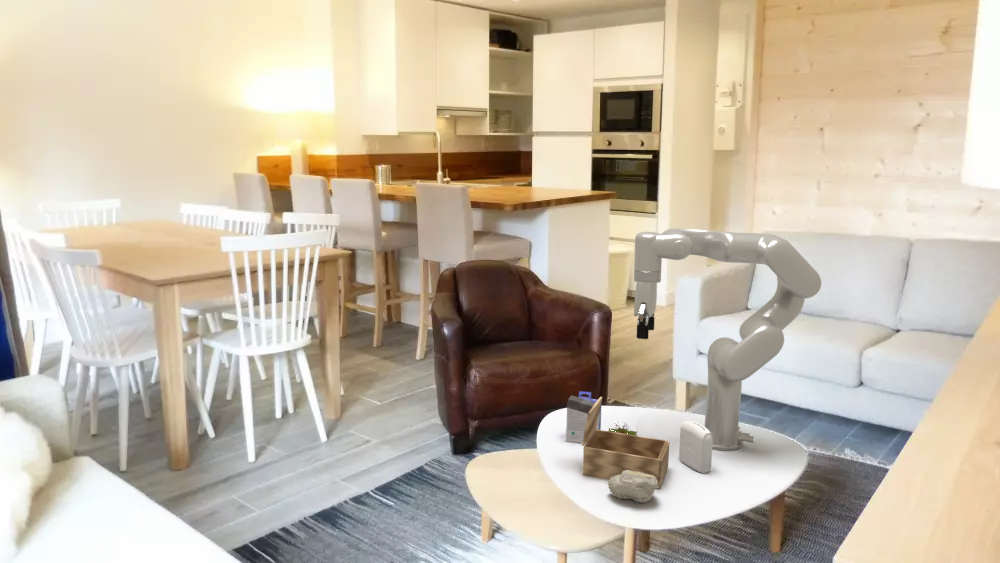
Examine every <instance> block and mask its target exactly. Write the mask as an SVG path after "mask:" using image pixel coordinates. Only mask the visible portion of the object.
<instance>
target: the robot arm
mask: <svg viewBox="0 0 1000 563" xmlns="http://www.w3.org/2000/svg"><path fill="white" fill-rule="evenodd" d="M689 256H699V257H705V258H709V259H712V260H714V261H717V262H722V263H733V264H735V263H736V264H737V263H738V264H739V263H740V264H755V265H756V264H757V265H765V266H767V267H769V269H770V270H771V271H772V272H773V274H775V275H776V281H777V283H776V284H777V285H776V290H775V293H773V294H774V295H773V296H772V297H771V298H770V300H769V301H767V302H766V303H765V304H764V305H763V306H762V307H760V308H759V309H758V310H756V311H755V312H754V313H752V314H751V315H750V316H749V317H748V318H747V319H745V320H744V321H743V322H742V323H741V325H740V327H739V336H740V338H741V341H739V342H738V341H736V340H735V339H733V338H730V337H719V338H717V339H715V340H714V341H713V342H712V343H710V346H709V347H708V349H707V386H706V387H707V388H706V400H705V402H706V404H705V414H704V415H705V416H704V427H706V428H707V429H708V430H709V431H710V432H711V433H712V435H713V445H712V450H716V451H735V450H738V449H740V448H742V446H743V442H745V443H746V442H747V443H751V444H752V443H753V444H754V440H755V439H754V437H755V436H754V435H751V434H750V432H743V431H741V427H740V426H739V424H740V423H739V422H740V410H741V408H740V407H741V398H742V397H741V396H742V384H743V383H742V382H743V381H744V380H746V379H748V378H750V377H751V376H753V375H754V374H755V373H756V372H758V371H759V370H761V368H763V367H765V365H766V364H768V363H769V362H770V361H772V360H773V359H774V358H775V357H776V356H777V355H778V354H779V353H780V351H781V350H782V349H783V346H784V344H785V334H784V332H783V330H784V329H786V328H787V327H788V326H790V324H791V323H793V321H795V320H796V319H797V317H799V314H800V313H801V311H802V309H803V307H804V303H805V300H806V299H811V298H813V297H815V296H816V295H817V294H818V293H819V292H820V290H821V287H822V279H821V276H820V275H819V272H818V271H817V270H816V269H815V268H814V266H812V265H811V264H810V263H809V262H808V260H806V259H805V257H804V256H803V255H801V254H800V252H799V251H798V250H797V249H796V247H794V246H793V245H792V244H791V243H790V242H789V241H788V240H786V239H785V238H782V237H780V236H777V235H775V234H771V233H755V232H754V233H752V232H751V233H750V232H736V231H735V232H731V231H721V230H705V229H691V228H667V229H666V230H664V231H663V232H662V233H659V232H655V231H640V232H638V233H636V235H635V237H634V263H633V264H634V266H633V267H634V268H633V281H634V282H635V283H636V284H635V292H634V293H635V295H634V306H633V316H634V317H637V322H636V339H639V340H648V339H649V331H654V330H655V320H656V319H655V312H656V309H657V300H658V299H657V298H658V295H657V294H658V292H657V291H658V284H659V283H661V281H662V265H663V264H662V259H666V260H675V261H680V260H685V259H686V258H687V257H689Z"/></svg>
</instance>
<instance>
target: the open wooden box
mask: <svg viewBox="0 0 1000 563" xmlns="http://www.w3.org/2000/svg"><path fill="white" fill-rule="evenodd" d="M669 456H670V442H669V441H668V440H665V439H659V438H652V437H647V436H641V435H640V436H639V435H637V436H635V435H629V434H622V433H616V432H610V431H609V430H603V429H600V430H597V429H596V430H595V431H594V433H593V434H592V436H591V437H590V439H589V440H588V442H587V443H586V444H585V445H584V446H583V456H582V457H583V458H582V476H585V477H590V478H595V479H602V480H605V481H606V480H607V481H609V479H610V478H611V477H614V476H616V475H621V474H622V472H623V471H625V470H631V471H635V472H640V473H644V474H649V475H653V476H655V477H656V478H657V481H658V486H659V488H657V489H656V490H658V489H661V488H662V485H663V482H664V480H665V477H666V474H667V472H668V469H669V460H670V458H669Z"/></svg>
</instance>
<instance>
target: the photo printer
mask: <svg viewBox="0 0 1000 563" xmlns="http://www.w3.org/2000/svg"><path fill="white" fill-rule="evenodd" d="M680 425H681V426H680V428H679V429H680V434H679V450H678V452H679V453H678V460H679V461H680V462H681V463H683V464H685V465H686V466H688V467H690V468H691V469H693V470H695V471H696V472H699V473H701V474H707V473H709V472H710V471H711V470H712V461H713V459H712V458H713V448H712V445H713V435H712V433H711V432H710V431H709V430H708V429H707V428H706V427H705V425H703V424H701V423H700V422H697V421H695V420H686V421H683V422H682V424H680Z"/></svg>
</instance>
